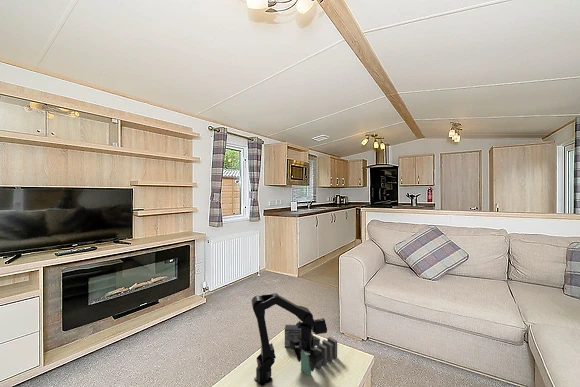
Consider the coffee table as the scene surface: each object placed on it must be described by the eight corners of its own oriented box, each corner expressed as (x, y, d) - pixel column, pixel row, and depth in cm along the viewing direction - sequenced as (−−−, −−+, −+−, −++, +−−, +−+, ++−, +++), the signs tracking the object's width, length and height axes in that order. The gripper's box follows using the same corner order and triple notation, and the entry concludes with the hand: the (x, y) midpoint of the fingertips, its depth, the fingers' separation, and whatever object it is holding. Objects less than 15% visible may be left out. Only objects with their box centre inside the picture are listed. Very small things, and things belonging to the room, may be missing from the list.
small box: (303, 342, 155) (303, 324, 155) (302, 348, 148) (302, 330, 148) (285, 341, 156) (285, 323, 156) (284, 347, 149) (284, 329, 149)
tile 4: (329, 362, 136) (329, 345, 136) (322, 357, 140) (322, 340, 140) (332, 361, 137) (332, 344, 137) (324, 356, 142) (324, 339, 142)
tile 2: (318, 369, 131) (318, 351, 131) (311, 364, 135) (311, 346, 135) (321, 367, 132) (321, 350, 132) (313, 362, 136) (313, 345, 136)
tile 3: (324, 366, 133) (324, 348, 133) (316, 360, 138) (316, 343, 138) (327, 364, 135) (327, 347, 135) (319, 359, 139) (319, 342, 139)
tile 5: (334, 359, 139) (334, 342, 139) (327, 354, 143) (327, 338, 143) (337, 357, 140) (337, 341, 140) (329, 352, 144) (329, 336, 144)
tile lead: (308, 376, 126) (308, 357, 126) (300, 370, 130) (300, 352, 130) (311, 374, 127) (311, 356, 127) (303, 368, 131) (303, 351, 131)
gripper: (330, 337, 127) (330, 368, 127) (304, 322, 141) (304, 351, 141) (315, 345, 119) (315, 379, 119) (289, 329, 134) (289, 359, 134)
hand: (305, 366), depth 129 cm, fingers open, 9 cm apart
